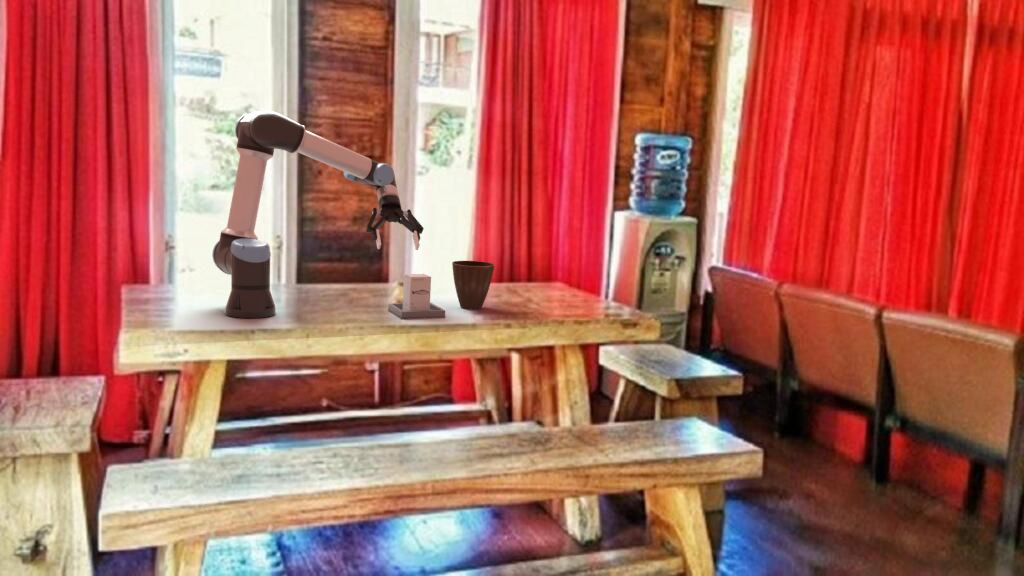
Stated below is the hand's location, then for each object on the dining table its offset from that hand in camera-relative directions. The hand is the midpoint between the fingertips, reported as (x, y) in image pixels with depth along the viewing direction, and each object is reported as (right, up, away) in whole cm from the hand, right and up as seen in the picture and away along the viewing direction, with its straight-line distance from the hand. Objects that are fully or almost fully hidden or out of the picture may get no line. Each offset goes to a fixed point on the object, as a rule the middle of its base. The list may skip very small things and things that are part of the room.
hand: (398, 247), depth 277 cm
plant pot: (+25, -21, +9) cm, 34 cm away
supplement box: (+7, -22, -7) cm, 25 cm away
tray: (+7, -23, -7) cm, 25 cm away
